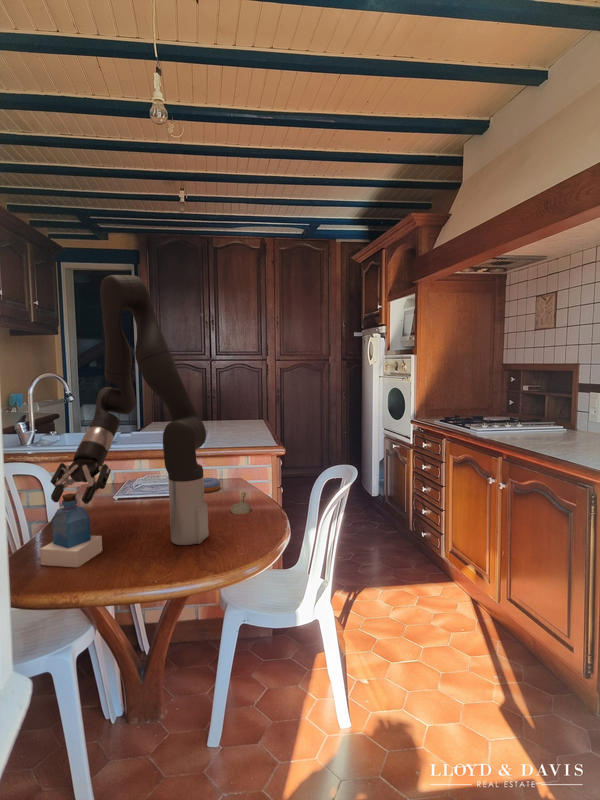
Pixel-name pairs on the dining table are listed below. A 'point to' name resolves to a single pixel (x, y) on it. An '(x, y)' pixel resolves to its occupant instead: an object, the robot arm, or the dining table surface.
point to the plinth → (71, 553)
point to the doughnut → (211, 484)
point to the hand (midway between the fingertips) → (69, 501)
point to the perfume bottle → (70, 523)
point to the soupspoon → (241, 506)
